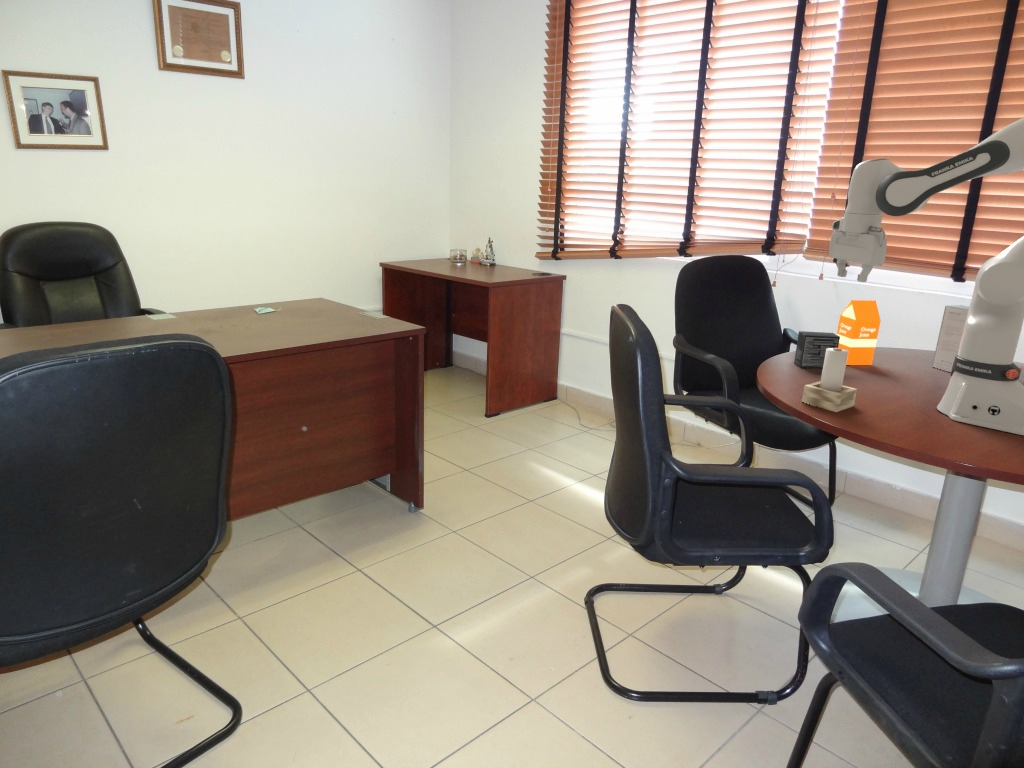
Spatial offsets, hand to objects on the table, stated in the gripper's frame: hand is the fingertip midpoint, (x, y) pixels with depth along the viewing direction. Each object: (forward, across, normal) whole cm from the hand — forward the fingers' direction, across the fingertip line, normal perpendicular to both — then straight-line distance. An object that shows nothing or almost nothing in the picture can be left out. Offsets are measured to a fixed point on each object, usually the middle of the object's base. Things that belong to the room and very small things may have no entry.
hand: (851, 279), depth 173 cm
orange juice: (+30, +28, -22) cm, 46 cm away
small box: (+30, +22, -6) cm, 38 cm away
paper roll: (+28, -15, +10) cm, 33 cm away
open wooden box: (+30, -15, +10) cm, 35 cm away
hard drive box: (+30, +17, -52) cm, 62 cm away
